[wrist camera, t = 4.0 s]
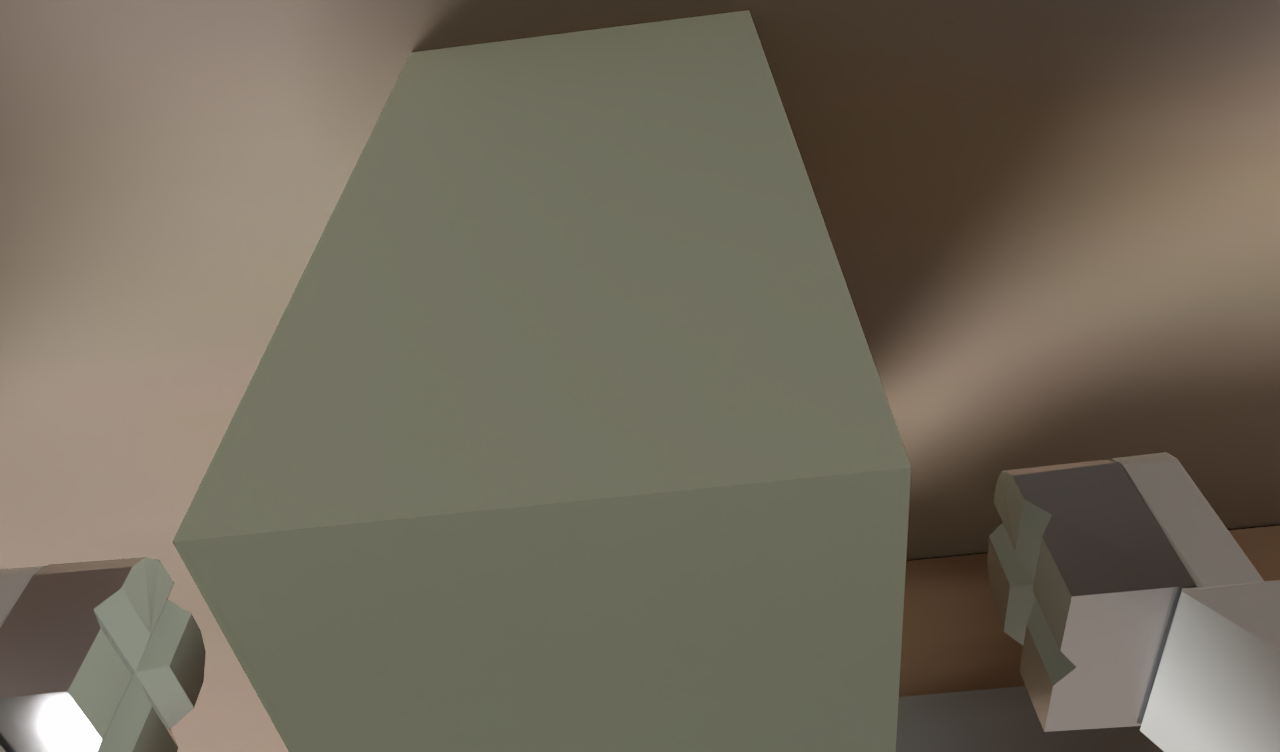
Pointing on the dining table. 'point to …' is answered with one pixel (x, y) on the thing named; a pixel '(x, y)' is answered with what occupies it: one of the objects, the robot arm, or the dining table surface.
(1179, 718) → the robot arm
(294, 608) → the green block
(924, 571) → the stand
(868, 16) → the dining table surface
